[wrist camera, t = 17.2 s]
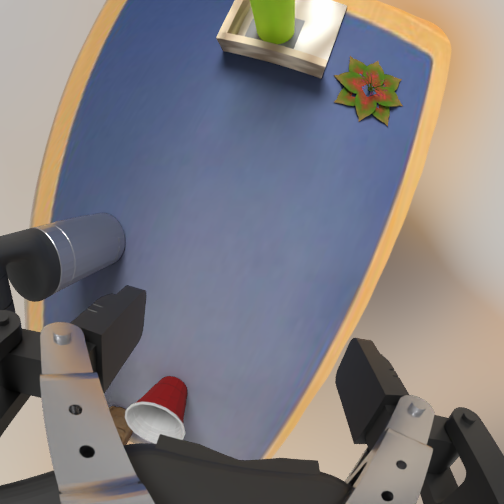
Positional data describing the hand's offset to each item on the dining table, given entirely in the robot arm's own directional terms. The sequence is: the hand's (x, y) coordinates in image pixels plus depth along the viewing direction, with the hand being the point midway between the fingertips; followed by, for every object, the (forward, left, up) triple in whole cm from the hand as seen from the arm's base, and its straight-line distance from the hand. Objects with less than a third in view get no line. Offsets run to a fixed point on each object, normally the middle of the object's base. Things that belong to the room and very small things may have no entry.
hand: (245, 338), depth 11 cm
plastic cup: (-7, -37, -35) cm, 51 cm away
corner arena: (-9, +31, -35) cm, 48 cm away
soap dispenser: (-10, +29, -35) cm, 46 cm away
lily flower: (+7, +25, -36) cm, 44 cm away
